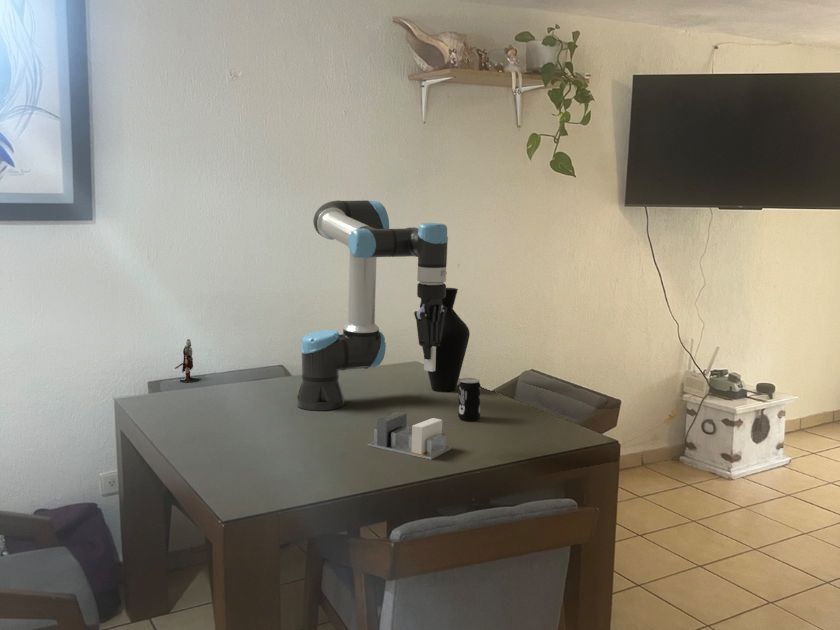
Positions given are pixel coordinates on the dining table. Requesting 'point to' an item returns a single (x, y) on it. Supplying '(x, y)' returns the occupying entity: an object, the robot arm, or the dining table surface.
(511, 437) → the dining table surface
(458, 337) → the vase
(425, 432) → the blank panel
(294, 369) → the dining table surface
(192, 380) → the figurine
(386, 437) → the rack
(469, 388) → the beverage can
